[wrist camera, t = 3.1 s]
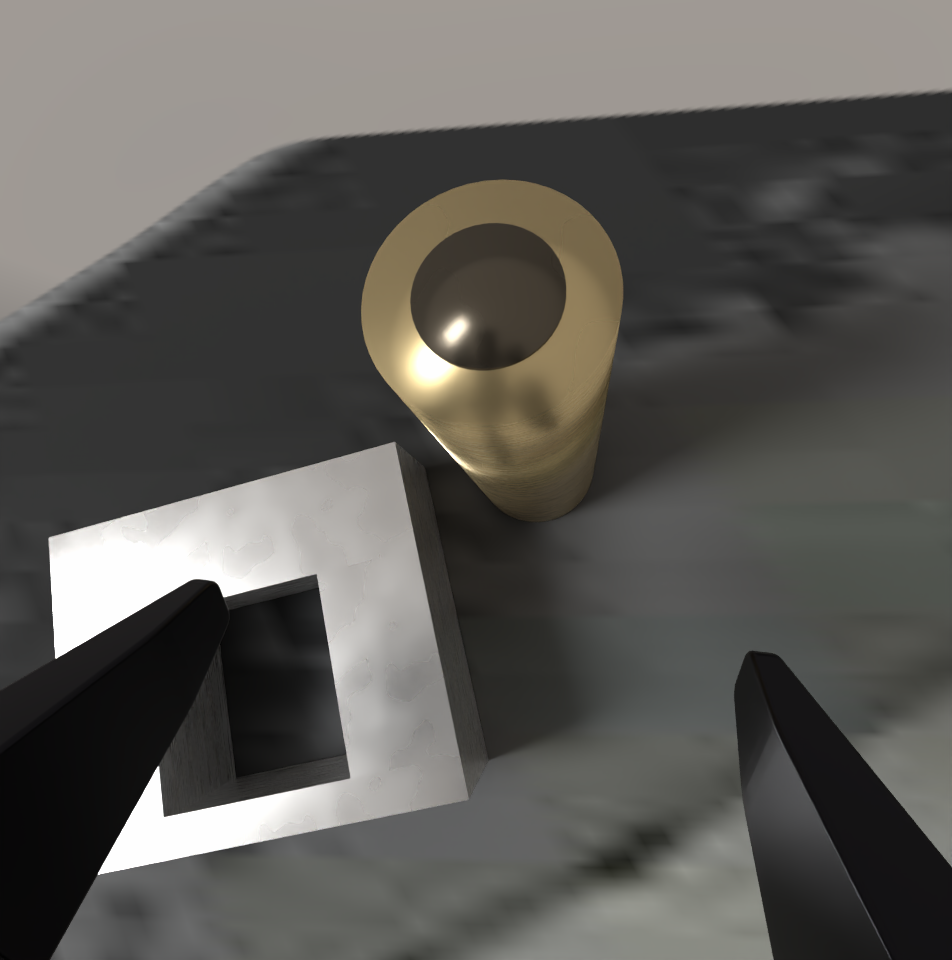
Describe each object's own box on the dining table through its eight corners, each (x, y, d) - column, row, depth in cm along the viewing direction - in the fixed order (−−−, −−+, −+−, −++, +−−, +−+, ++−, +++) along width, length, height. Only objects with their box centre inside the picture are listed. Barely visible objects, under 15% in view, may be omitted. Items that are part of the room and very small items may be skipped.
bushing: (617, 481, 22) (681, 322, 9) (517, 544, 22) (440, 474, 9) (553, 389, 23) (528, 130, 10) (458, 449, 23) (316, 268, 10)
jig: (488, 760, 20) (469, 799, 17) (158, 829, 22) (69, 879, 18) (424, 467, 23) (394, 442, 19) (132, 546, 24) (48, 537, 20)
